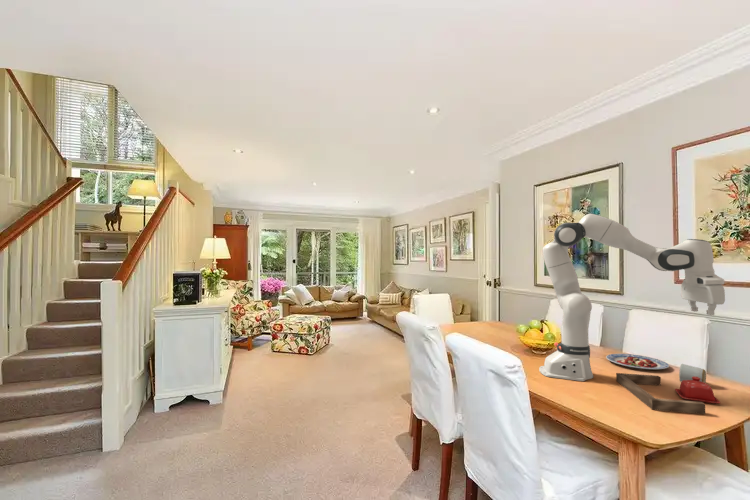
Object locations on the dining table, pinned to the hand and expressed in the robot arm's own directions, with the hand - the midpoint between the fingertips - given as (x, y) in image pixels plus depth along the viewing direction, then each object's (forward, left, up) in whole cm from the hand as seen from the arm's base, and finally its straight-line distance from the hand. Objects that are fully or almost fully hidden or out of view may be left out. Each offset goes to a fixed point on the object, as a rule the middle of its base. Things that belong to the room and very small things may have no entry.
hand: (702, 313), depth 139 cm
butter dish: (-6, -5, -33) cm, 34 cm away
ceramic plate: (-8, +38, -33) cm, 51 cm away
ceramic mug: (+3, +14, -33) cm, 36 cm away
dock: (-20, -6, -32) cm, 38 cm away
